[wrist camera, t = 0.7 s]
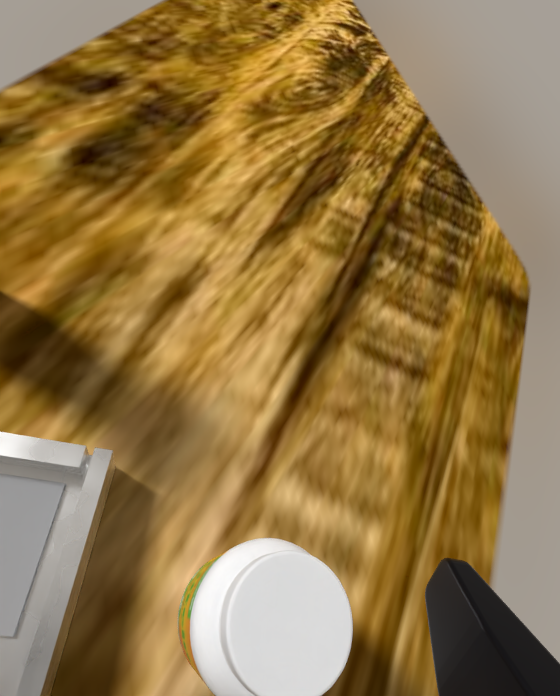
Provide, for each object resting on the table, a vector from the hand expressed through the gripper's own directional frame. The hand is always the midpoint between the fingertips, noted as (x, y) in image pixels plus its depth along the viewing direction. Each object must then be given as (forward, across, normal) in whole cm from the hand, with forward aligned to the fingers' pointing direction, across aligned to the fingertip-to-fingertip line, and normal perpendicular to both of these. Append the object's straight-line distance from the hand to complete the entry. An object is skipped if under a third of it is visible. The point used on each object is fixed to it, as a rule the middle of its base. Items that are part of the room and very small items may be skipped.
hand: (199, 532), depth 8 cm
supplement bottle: (+8, -2, +14) cm, 17 cm away
